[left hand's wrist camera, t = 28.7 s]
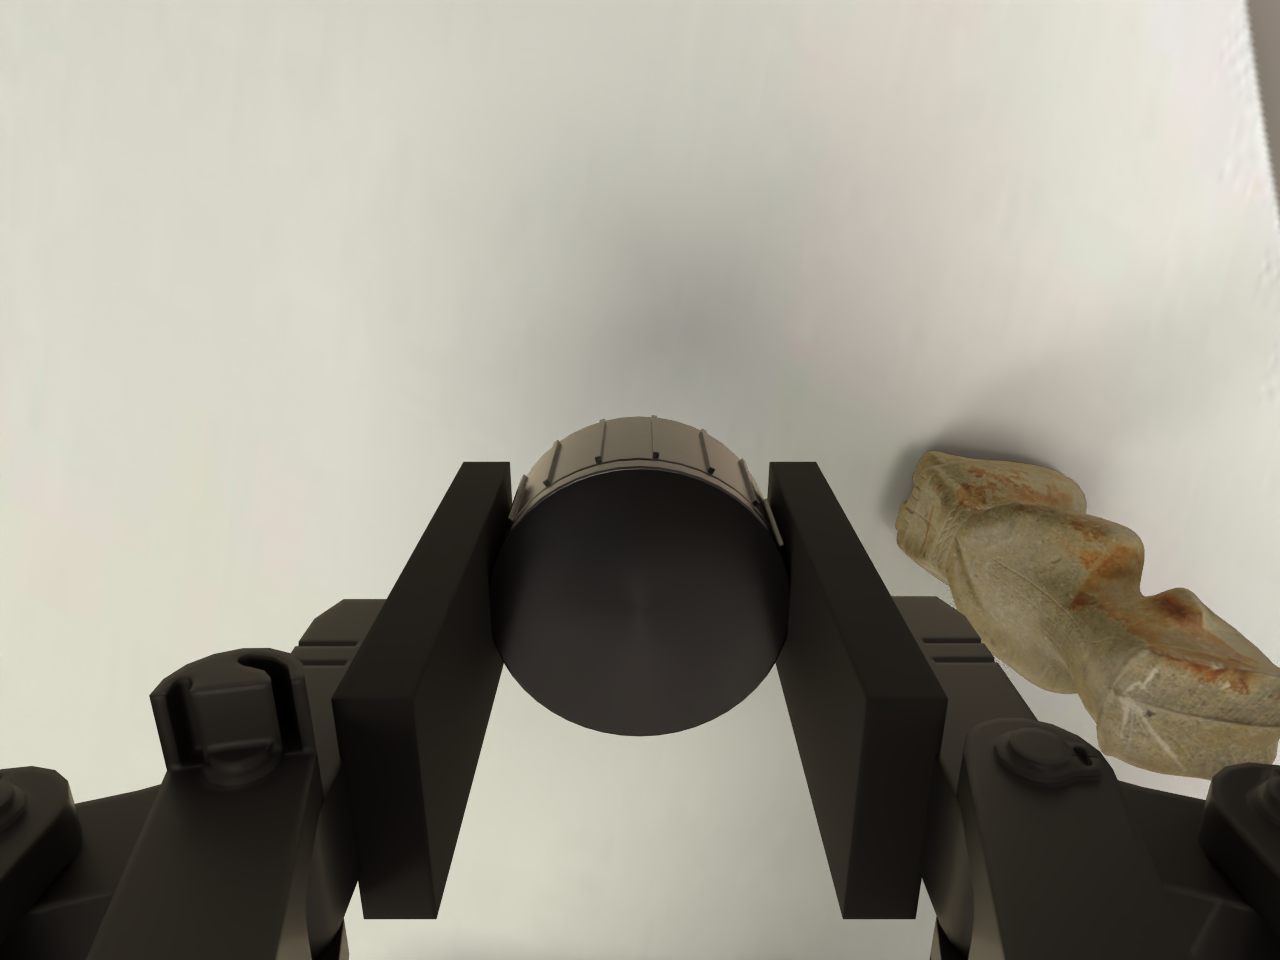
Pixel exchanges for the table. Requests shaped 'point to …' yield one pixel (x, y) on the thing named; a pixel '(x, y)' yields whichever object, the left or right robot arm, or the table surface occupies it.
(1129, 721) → the sculpture
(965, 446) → the table surface
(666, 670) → the cap
